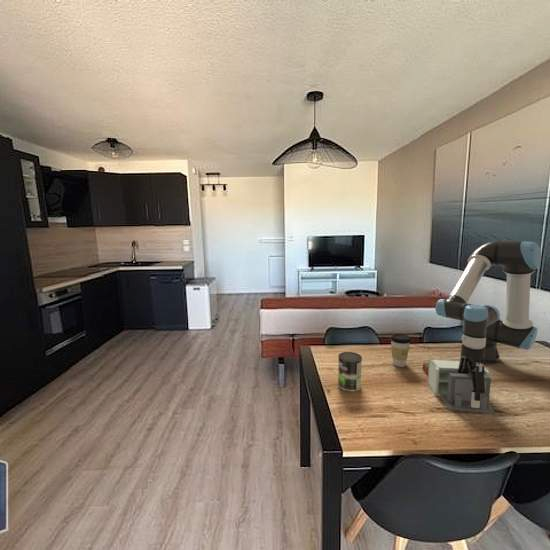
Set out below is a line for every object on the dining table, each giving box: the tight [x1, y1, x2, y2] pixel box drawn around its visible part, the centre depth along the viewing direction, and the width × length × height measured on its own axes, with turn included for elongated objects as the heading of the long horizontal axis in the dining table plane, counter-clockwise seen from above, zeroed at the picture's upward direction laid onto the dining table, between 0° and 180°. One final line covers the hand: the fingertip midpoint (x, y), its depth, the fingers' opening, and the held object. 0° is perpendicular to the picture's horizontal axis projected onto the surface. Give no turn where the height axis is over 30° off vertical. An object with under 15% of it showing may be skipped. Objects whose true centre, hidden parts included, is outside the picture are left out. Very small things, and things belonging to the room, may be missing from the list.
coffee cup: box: [389, 333, 412, 367], centre depth 157 cm, size 10×10×15 cm
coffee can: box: [337, 351, 363, 392], centre depth 137 cm, size 10×10×14 cm
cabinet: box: [427, 358, 495, 414], centre depth 126 cm, size 20×20×12 cm
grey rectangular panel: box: [447, 373, 492, 407], centre depth 120 cm, size 14×3×12 cm, turn 80°
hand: (468, 399), depth 120 cm, fingers open, 10 cm apart
